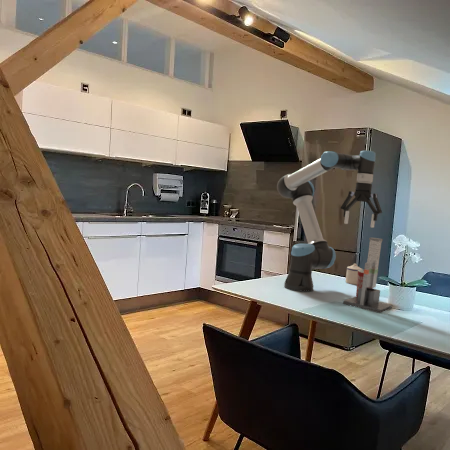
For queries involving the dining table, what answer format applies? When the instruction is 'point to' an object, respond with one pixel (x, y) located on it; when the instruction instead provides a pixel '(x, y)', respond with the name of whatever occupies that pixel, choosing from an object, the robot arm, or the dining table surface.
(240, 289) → the dining table surface
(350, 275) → the teacup with lid
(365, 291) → the stand
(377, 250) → the column
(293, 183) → the robot arm
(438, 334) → the dining table surface
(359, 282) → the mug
